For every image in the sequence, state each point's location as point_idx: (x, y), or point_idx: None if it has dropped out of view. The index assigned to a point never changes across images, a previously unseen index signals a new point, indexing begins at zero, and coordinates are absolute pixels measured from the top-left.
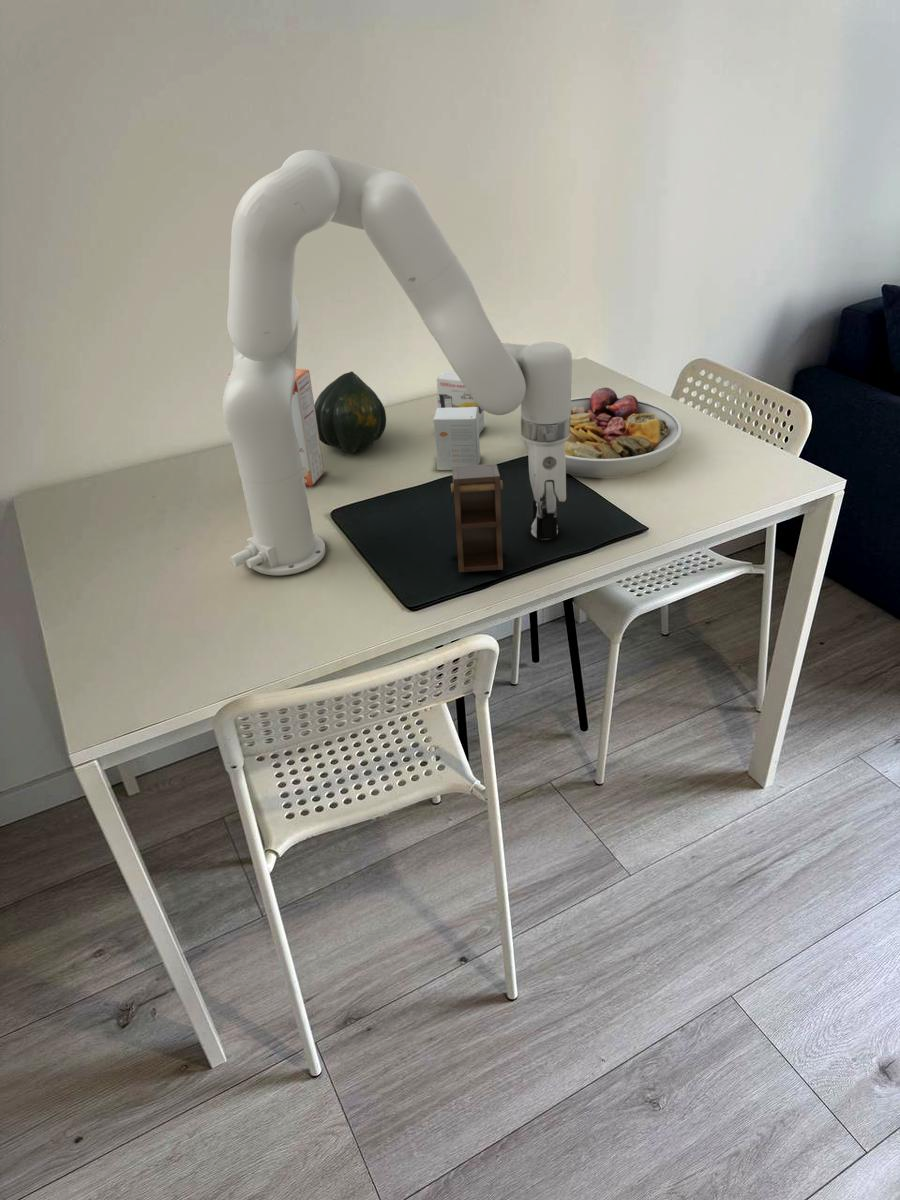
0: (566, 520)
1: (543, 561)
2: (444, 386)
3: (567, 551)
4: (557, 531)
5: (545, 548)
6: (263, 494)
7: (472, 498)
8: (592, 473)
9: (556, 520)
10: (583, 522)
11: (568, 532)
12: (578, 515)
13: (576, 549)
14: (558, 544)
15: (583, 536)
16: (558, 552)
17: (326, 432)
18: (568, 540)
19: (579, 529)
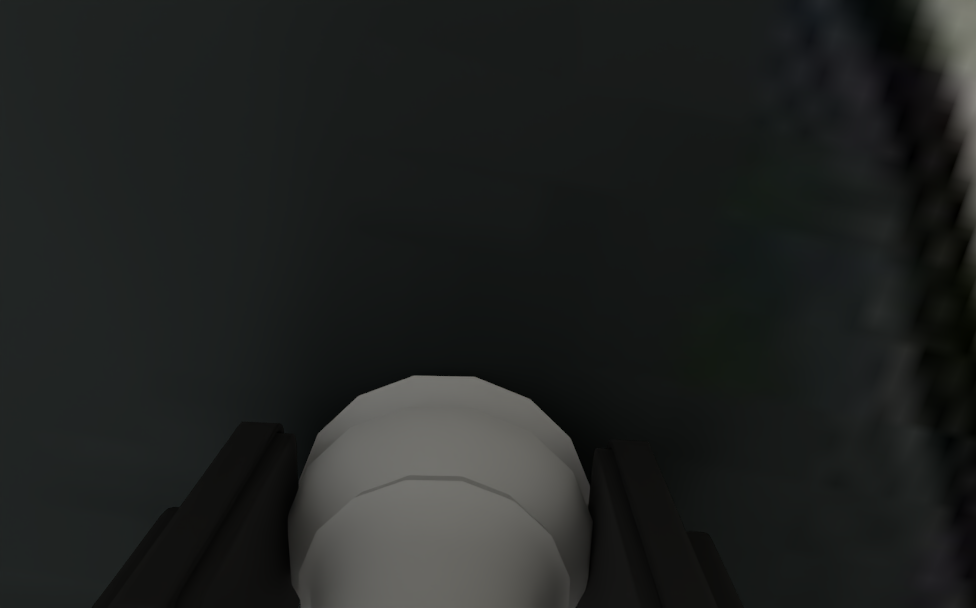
0: (169, 210)
1: (946, 580)
2: None
3: (847, 336)
4: (478, 386)
5: (722, 526)
6: None
7: None
8: None
9: (703, 589)
10: (234, 9)
11: (452, 245)
12: (47, 34)
13: (839, 235)
14: (681, 396)
15: (577, 89)
16: (836, 425)
17: None
18: (626, 280)
19: (403, 101)
